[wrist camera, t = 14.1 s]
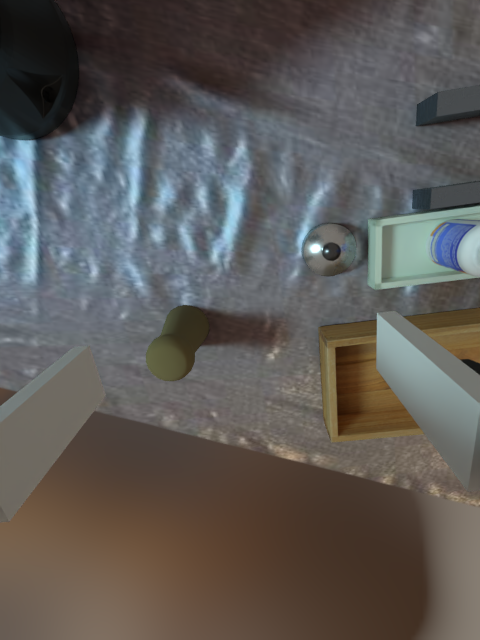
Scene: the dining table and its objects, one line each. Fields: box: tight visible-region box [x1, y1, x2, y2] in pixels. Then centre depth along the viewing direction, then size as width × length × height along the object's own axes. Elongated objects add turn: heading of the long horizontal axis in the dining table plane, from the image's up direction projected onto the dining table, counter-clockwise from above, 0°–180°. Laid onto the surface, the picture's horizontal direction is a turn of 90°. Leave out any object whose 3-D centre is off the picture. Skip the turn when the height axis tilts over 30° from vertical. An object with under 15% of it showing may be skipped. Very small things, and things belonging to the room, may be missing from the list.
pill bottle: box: [426, 219, 480, 277], centre depth 33 cm, size 5×5×10 cm
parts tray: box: [368, 204, 480, 290], centre depth 37 cm, size 8×18×2 cm, turn 98°
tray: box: [318, 308, 480, 442], centre depth 41 cm, size 31×15×6 cm, turn 98°
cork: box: [146, 305, 209, 381], centre depth 38 cm, size 6×6×11 cm
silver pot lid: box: [302, 223, 356, 276], centre depth 37 cm, size 6×6×3 cm
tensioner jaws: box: [412, 85, 480, 209], centre depth 33 cm, size 10×8×4 cm
